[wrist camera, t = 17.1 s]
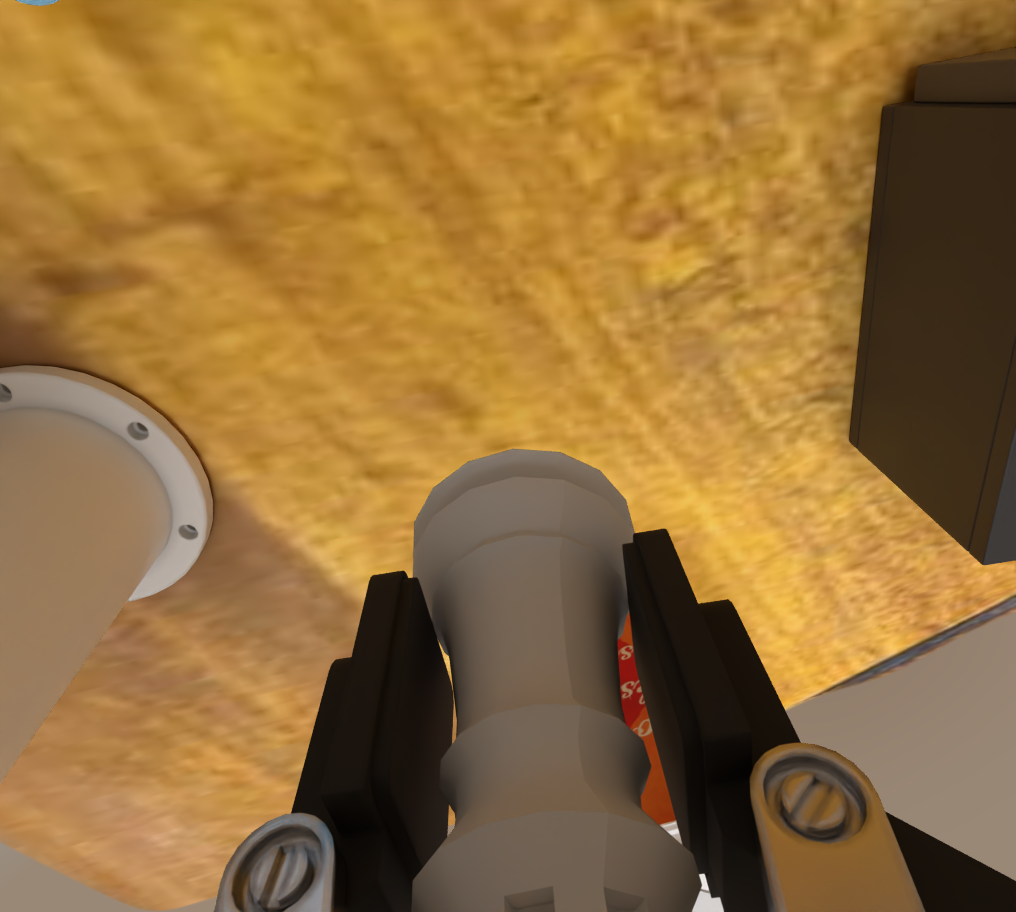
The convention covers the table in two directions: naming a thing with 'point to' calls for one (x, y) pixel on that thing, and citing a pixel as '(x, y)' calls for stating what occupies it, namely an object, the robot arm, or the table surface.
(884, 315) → the cabinet
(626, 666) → the coffee cup
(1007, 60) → the drawer
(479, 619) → the grey castle rook
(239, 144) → the table surface
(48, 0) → the teapot
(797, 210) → the table surface
